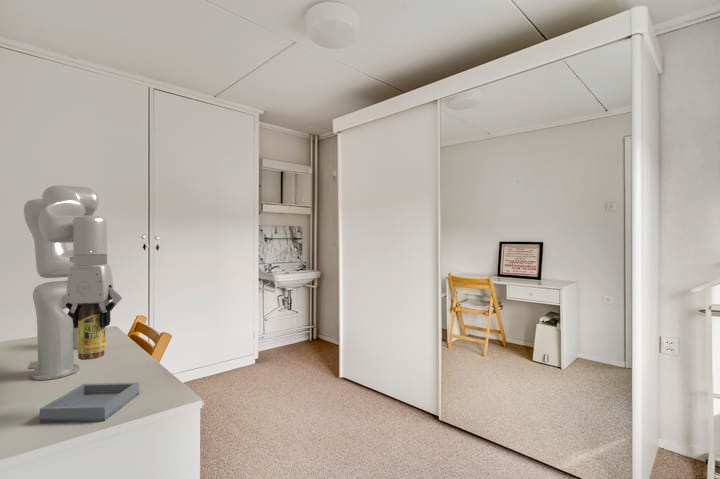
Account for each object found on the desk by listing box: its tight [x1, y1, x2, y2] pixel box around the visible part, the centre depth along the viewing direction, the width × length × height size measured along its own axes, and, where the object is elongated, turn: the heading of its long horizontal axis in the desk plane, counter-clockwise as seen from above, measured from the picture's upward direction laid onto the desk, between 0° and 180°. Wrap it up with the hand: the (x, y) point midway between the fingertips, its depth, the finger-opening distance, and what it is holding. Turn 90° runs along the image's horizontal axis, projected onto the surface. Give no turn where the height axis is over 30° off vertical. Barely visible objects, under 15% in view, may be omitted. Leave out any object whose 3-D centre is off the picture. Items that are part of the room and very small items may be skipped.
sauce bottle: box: [77, 303, 107, 361], centre depth 103 cm, size 7×6×20 cm
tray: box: [39, 381, 140, 424], centre depth 103 cm, size 16×16×4 cm
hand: (92, 325), depth 103 cm, fingers closed on sauce bottle, 6 cm apart
